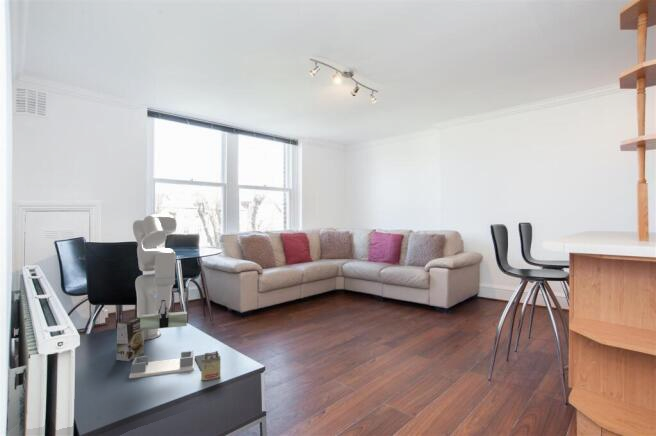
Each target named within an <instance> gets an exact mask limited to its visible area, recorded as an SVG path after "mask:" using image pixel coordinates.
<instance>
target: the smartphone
mask: <svg viewBox="0 0 656 436" xmlns="http://www.w3.org/2000/svg"><path fill="white" fill-rule="evenodd" d="M194 357H195V359H194V361H195V363H196V365H197V366H198V368H199V371H200V372H202V358H204V357H205V353H204V354H200V355H194Z"/></svg>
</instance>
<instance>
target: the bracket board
mask: <svg viewBox="0 0 656 436" xmlns="http://www.w3.org/2000/svg"><path fill="white" fill-rule="evenodd" d="M194 370H195V356H194V350H187V351H181V352H180V357H178V358H173V359H172V358H170V359H163V360H157V361H155V360H154V361H149V355H139V356H137V357H135V358H134V359H133V361H132V363H131V371H130V373H129V376H128V379H136V378H143V377H150V376H158V375H166V374H174V373H181V372H188V371H194Z"/></svg>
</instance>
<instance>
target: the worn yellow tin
mask: <svg viewBox="0 0 656 436" xmlns="http://www.w3.org/2000/svg"><path fill="white" fill-rule="evenodd" d="M204 354H205V357H204V358H202V371H200V373H201V379H200V381H202V380H208V379H213V378H218V377H220V378H221V362H222V361H221V355H219V351H218V350H216V351H214V352H205V353H204ZM218 379H219V378H218ZM213 380H214V379H213ZM208 381H209V380H208Z"/></svg>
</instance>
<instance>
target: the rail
mask: <svg viewBox="0 0 656 436" xmlns="http://www.w3.org/2000/svg"><path fill="white" fill-rule="evenodd" d="M159 320H160V313H158V314H149V315H142V316H141V317H140V330H148V329H158V330H159V329H161V328H160V327H159ZM187 326H188V311H177V312H169V313H168V327H165V328H164V329H168V328H180V327H187Z"/></svg>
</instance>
